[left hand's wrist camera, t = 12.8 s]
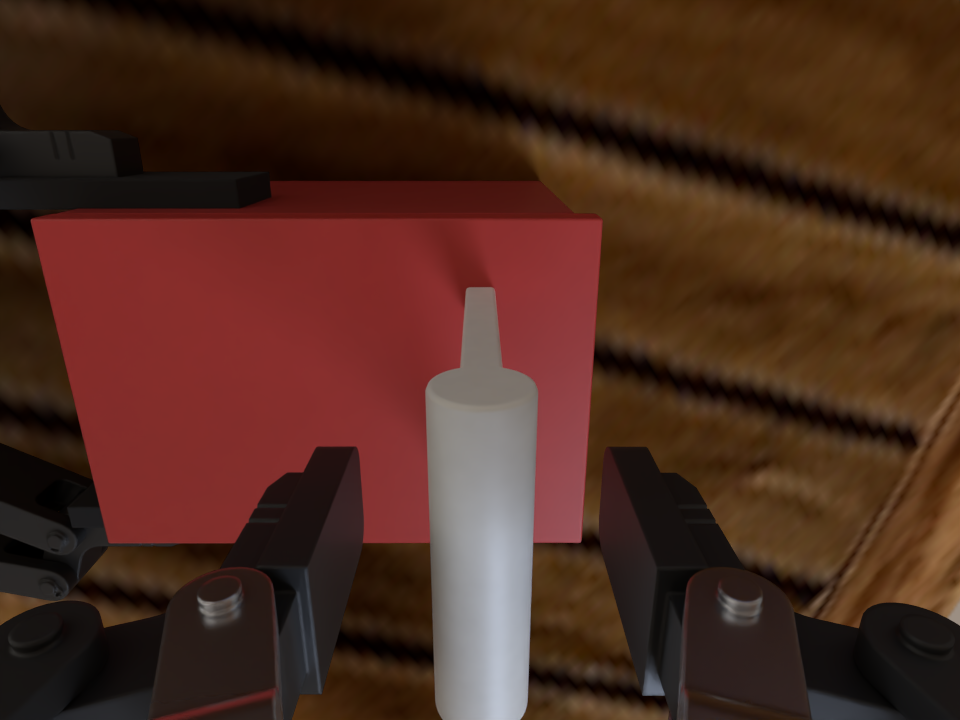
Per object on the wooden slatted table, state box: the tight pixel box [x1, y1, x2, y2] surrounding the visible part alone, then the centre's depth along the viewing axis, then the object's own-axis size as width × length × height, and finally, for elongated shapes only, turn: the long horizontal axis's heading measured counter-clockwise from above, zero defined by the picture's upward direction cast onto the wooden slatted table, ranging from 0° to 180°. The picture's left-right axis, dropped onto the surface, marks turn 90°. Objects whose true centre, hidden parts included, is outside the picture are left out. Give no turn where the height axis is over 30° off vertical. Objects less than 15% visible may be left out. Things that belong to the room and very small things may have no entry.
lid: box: [31, 214, 603, 720], centre depth 13 cm, size 13×9×8 cm
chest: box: [57, 181, 574, 214], centre depth 22 cm, size 13×9×9 cm
